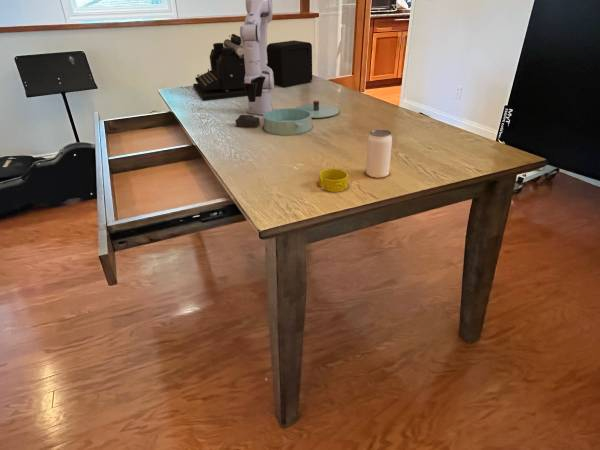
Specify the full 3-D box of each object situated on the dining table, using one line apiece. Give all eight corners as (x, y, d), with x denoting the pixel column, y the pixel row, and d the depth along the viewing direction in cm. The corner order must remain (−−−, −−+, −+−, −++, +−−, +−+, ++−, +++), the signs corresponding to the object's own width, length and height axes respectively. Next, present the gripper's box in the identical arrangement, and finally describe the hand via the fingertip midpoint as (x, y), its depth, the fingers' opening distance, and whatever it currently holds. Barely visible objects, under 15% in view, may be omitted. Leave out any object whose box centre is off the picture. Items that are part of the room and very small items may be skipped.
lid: (306, 121, 161) (306, 109, 159) (286, 110, 176) (285, 99, 174) (347, 114, 168) (348, 103, 166) (324, 104, 183) (324, 93, 181)
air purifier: (296, 78, 234) (295, 39, 223) (312, 81, 224) (312, 41, 214) (266, 83, 223) (264, 43, 213) (282, 87, 213) (280, 46, 203)
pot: (278, 140, 144) (278, 126, 141) (254, 123, 162) (253, 110, 159) (323, 131, 150) (323, 118, 148) (295, 116, 168) (295, 104, 166)
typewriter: (193, 87, 219) (185, 36, 206) (243, 82, 227) (238, 32, 214) (203, 100, 194) (194, 43, 181) (258, 94, 202) (254, 39, 189)
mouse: (236, 126, 158) (235, 115, 156) (240, 123, 162) (239, 112, 160) (255, 127, 157) (254, 116, 154) (259, 123, 161) (258, 113, 158)
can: (386, 168, 120) (389, 128, 114) (391, 178, 114) (395, 136, 108) (364, 169, 120) (366, 129, 113) (368, 178, 114) (370, 137, 108)
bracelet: (335, 177, 116) (335, 166, 114) (353, 187, 110) (354, 175, 108) (314, 183, 112) (313, 172, 111) (331, 194, 107) (331, 182, 105)
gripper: (256, 64, 142) (259, 104, 149) (268, 57, 154) (271, 94, 161) (237, 64, 144) (241, 103, 151) (250, 57, 156) (253, 94, 163)
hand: (255, 99), depth 156 cm, fingers open, 7 cm apart
